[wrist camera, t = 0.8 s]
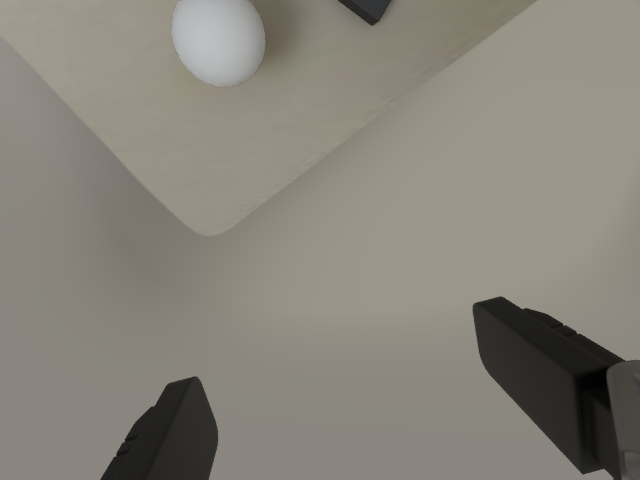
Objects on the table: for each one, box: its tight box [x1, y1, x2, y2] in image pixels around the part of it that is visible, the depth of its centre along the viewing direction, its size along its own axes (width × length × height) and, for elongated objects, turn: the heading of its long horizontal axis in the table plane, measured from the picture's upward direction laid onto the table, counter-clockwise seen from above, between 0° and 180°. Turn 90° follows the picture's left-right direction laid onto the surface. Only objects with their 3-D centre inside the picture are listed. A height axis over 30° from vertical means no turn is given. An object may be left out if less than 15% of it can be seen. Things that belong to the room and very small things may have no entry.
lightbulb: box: [171, 0, 265, 87], centre depth 26 cm, size 6×6×11 cm
